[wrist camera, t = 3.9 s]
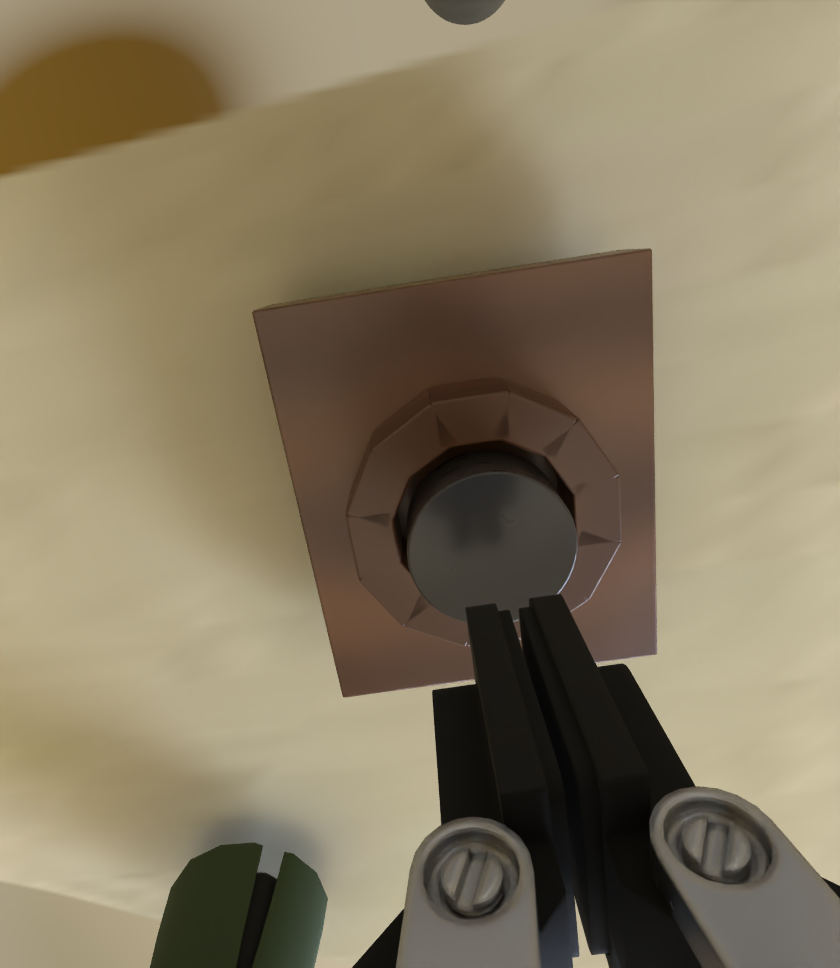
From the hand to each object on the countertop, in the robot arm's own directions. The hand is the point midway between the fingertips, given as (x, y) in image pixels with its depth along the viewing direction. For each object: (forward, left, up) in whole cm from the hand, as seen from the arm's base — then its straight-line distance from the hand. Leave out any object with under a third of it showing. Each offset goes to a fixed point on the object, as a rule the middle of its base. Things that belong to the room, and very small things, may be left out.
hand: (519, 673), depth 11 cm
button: (0, 0, -6) cm, 6 cm away
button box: (0, 0, -9) cm, 9 cm away
